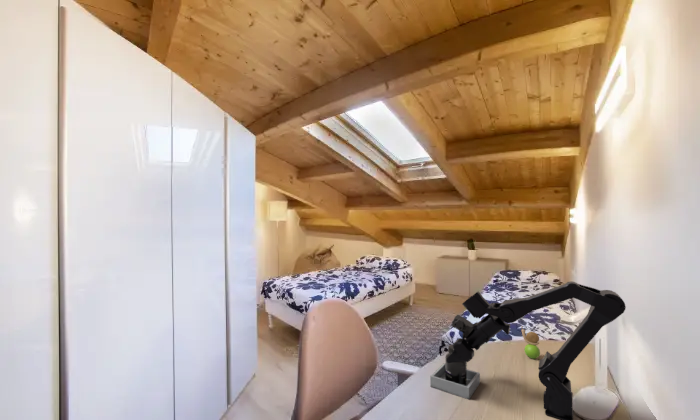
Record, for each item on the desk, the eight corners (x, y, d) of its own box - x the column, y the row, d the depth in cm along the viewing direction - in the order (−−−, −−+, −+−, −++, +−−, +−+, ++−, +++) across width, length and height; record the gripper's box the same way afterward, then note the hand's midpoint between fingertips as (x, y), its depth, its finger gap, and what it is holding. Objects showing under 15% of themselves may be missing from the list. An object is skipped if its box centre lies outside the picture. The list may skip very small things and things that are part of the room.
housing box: (479, 383, 108) (479, 372, 108) (468, 399, 98) (468, 387, 98) (444, 372, 115) (444, 362, 115) (430, 386, 105) (430, 376, 105)
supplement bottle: (442, 384, 106) (441, 347, 106) (449, 376, 111) (449, 341, 112) (462, 390, 101) (462, 352, 102) (469, 382, 107) (469, 346, 107)
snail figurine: (522, 353, 132) (521, 324, 132) (540, 356, 129) (539, 327, 129) (521, 358, 127) (520, 328, 128) (540, 362, 124) (539, 330, 125)
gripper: (472, 302, 113) (442, 328, 119) (459, 315, 97) (425, 344, 103) (497, 329, 108) (464, 355, 114) (487, 347, 93) (449, 376, 98)
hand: (451, 356), depth 107 cm, fingers open, 9 cm apart
